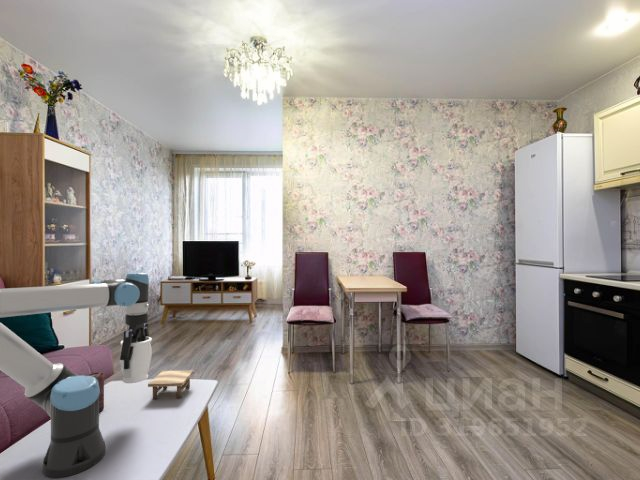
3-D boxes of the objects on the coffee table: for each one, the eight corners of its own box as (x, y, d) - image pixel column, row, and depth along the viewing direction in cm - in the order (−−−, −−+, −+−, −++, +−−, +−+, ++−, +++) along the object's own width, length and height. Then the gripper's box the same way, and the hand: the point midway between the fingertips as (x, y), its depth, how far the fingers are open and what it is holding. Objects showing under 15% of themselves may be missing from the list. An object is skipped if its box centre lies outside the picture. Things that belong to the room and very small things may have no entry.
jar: (143, 372, 131) (144, 334, 132) (156, 378, 125) (157, 338, 126) (114, 380, 123) (115, 340, 123) (126, 387, 117) (128, 345, 117)
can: (108, 407, 130) (108, 372, 130) (95, 415, 124) (95, 378, 124) (94, 406, 131) (94, 371, 131) (80, 414, 124) (81, 377, 124)
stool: (182, 400, 136) (182, 383, 136) (147, 400, 135) (147, 384, 135) (193, 385, 150) (193, 370, 150) (162, 386, 149) (162, 370, 149)
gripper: (131, 319, 113) (129, 383, 113) (160, 307, 136) (159, 361, 136) (109, 319, 113) (107, 384, 112) (141, 307, 136) (140, 361, 135)
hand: (135, 371), depth 124 cm, fingers closed on jar, 10 cm apart
